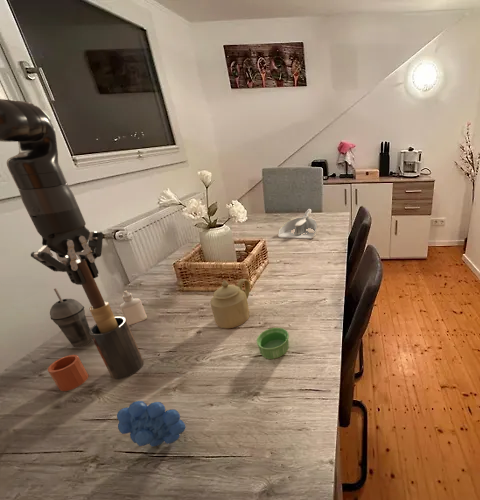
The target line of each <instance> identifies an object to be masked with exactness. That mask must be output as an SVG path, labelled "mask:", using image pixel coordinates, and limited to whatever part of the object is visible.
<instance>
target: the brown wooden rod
mask: <svg viewBox="0 0 480 500" xmlns="http://www.w3.org/2000/svg"><path fill="white" fill-rule="evenodd" d="M76 263H77V266H78V269H80V271H81V273H82V275H83V277H84V279H85V282H86V283H85V284H83V285H81V287H82V289H83V291H84V293H85V295H86V297H87V300H88V301H89V303H90V307H89V312H90V314H91V315H92V318H93V320H94V323H95V325H96V324H97V326H98V328H99V331H100V333H106V332H109V331H111V330H114V329H116V328H117V327H118V324H117V321H116V319H115V317H116V316H115V315H114V313H113V310H112V308H111V305H110V303H109V302H108V301H105V300H104V298H103V296H102V293H101V291H100V289H99V286H98V284H97V282H96V280H95V278H93V275H92V273H91V271H90V269H89V266H88V264H87V262H86V260H85V259H79V258H78V259H76Z"/></svg>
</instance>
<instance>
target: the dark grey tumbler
mask: <svg viewBox="0 0 480 500" xmlns="http://www.w3.org/2000/svg"><path fill="white" fill-rule="evenodd" d="M114 317H115V319H116V321H117V324H118V327H117V328H116V329H114V330H111V331H109V332H106V333H100V331H99V328H98V326H97V324H96V323H95V324H94V325H92V327H91V328H90V331H89V333H90V335H91V337H92V341H93V343H94V345H95V347H96V350H97V351H98V354H99V356H100V357H101V360H102V361H103V363H104V366H105V367H106V369H107V372H108V373H109V375H110V378H111V379H113V380H123V379H126V378H129V377H131V376H133V375H135V374H136V373H137V372H139V371H140V370H141V369H142V367H143V366H144V363H145V362H144V358H143V357H142V354H141V352H140V349H139V346H138V345H137V342H136V339H135V338H134V335H133V333H132V331H131V328H130V325H128V323H127V321H126V319H125V318H124V316H114Z"/></svg>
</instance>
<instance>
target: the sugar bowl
mask: <svg viewBox="0 0 480 500" xmlns="http://www.w3.org/2000/svg"><path fill="white" fill-rule="evenodd" d="M243 285H244V290H243ZM250 290H251V285H250V281H249V280H248V279H247V278H240V279H239V280H238V281H237V285H235V284H229V282H228V281H227V280H225V279H224V280H222V282H221V286H220V287H218V288H217V289H216V290H214V292H213V293H212V298H211V299H210V303H209V304H210V307H211V311H212V315H213V318H214V322H215V324H216V326H217V327H218V328H221V329H233V328H236V327H239V326H241V325H243V324H245V323H246V322H247V321H248V320H249V318H250V309H249V303H248V299H249V296H250V292H251V291H250Z"/></svg>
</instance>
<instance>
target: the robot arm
mask: <svg viewBox="0 0 480 500" xmlns="http://www.w3.org/2000/svg"><path fill="white" fill-rule="evenodd" d="M56 133H57V132H56V129H55V127H54V124H53V122H52V120H51V119H50V117H49V116H48V115H47V113H46V112H45V111H44V110H43V109H42V108H40V107H39V106H37V105H36V104H34V103H31V102H28V101H24V100H15V99H3V98H0V142H1V143H2V142H3V143H17V145H18V153H17V154H16V155H13V156H11V157H9V158H8V159H7V160H6V167H7V169H8V172H9V173H10V175H11V177H12V179H13V181H14V183H15V185H16V188H17V189H18V191H19V195H20V199H21V201H22V204H23V206H24V208H25V210H26V212H27V214H28V216H29V218H30V219H31V223H32V224H33V226H34V228H35V229H36V231H37V233H38V234H39V236H40V237H41V238H42V241H41V244H42V246H41V247H40V248H39V249H38V250H37V251H32V252H31V253H30V257H31V258H32V259H34V260H36V262H39V263H41V264H42V265H43V266H45V267H46V268H48V269H50V270H51V271H52V272H55V273H57V272H60V273H66V274H67V276H68V278H69V280H70V282H71V283H72V284H75V285H77V286H82V285H83V284H85V283H86V282H85V279H84V277H83V275H82V273H81V271H80V269H78V266H77V263H76V260H79V259H85V260H86V262H87V264H88V266H89V269H90V271H91V273H92V275H93V278H94V279H96V278H98V277H99V269H98V266H97V265H96V259H97V258H100V257H101V256H102V250H103V239H104V233H103V232H102V231H90V229H88V228H87V227H86V223H87V222H86V221H85V218H84V216H83V214H82V211H81V208H80V206H79V204H78V202H77V199H76V196H75V195H74V193H73V190H71V188H70V186H69V184H68V181H67V180H66V177H65V175H64V172H63V170H62V168H61V166H60V163H59V151H58V143H57V142H58V141H57V134H56ZM53 253H55V256H56V258H57V259H56V258H55V257H54V254H53Z"/></svg>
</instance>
